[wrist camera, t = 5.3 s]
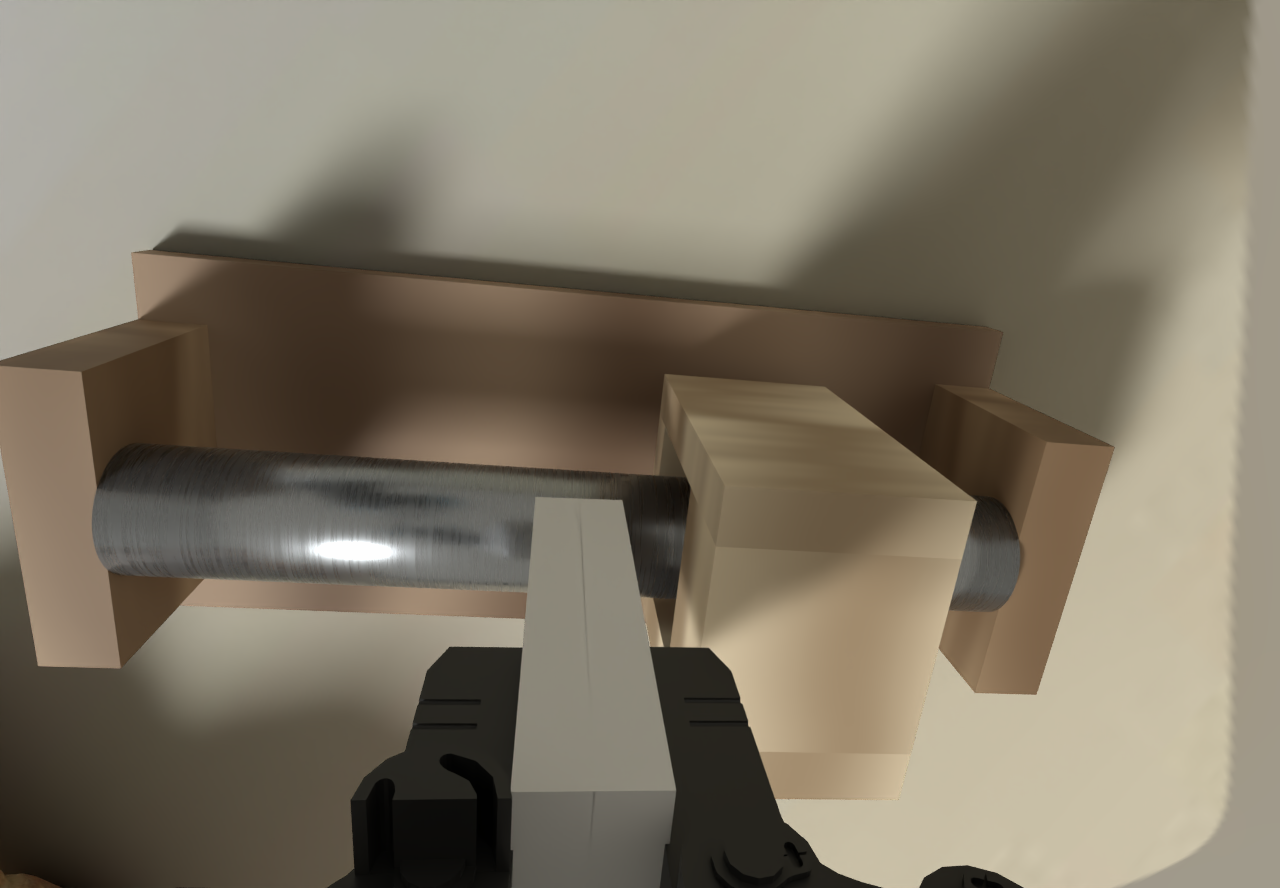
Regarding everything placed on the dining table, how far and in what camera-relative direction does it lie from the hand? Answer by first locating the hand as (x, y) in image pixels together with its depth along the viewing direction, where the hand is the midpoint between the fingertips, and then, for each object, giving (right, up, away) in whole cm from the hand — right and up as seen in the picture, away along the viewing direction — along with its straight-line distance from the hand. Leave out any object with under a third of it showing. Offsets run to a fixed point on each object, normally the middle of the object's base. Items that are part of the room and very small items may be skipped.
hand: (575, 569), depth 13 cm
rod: (0, +1, +4) cm, 4 cm away
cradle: (0, +2, +7) cm, 7 cm away
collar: (+3, +1, +6) cm, 7 cm away
